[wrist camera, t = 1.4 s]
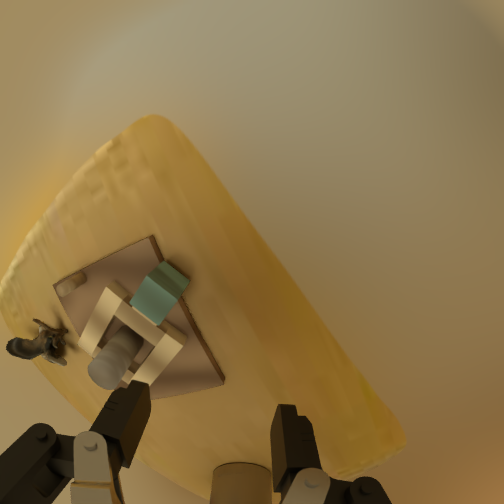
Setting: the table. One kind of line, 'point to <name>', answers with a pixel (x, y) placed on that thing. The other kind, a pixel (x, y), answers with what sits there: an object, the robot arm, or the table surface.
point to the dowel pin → (71, 284)
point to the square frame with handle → (140, 320)
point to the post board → (130, 279)
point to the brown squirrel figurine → (39, 345)
